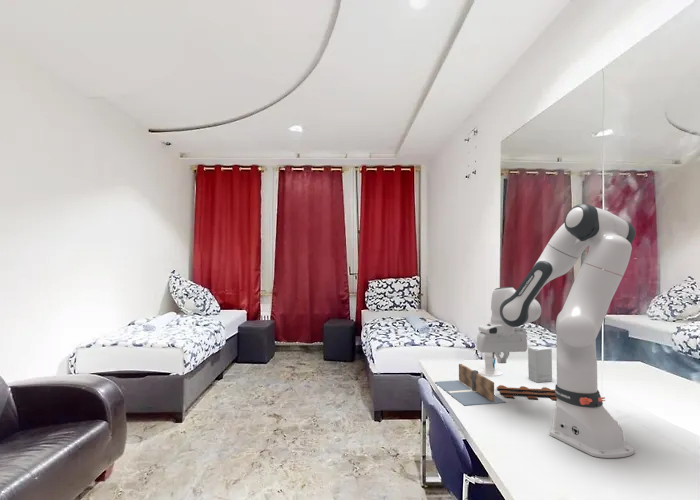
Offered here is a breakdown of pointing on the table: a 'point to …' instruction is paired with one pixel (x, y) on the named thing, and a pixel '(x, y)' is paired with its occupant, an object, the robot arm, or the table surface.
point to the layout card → (466, 393)
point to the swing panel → (485, 387)
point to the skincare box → (540, 364)
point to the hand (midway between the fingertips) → (501, 363)
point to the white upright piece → (489, 365)
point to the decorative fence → (527, 392)
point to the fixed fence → (468, 376)
